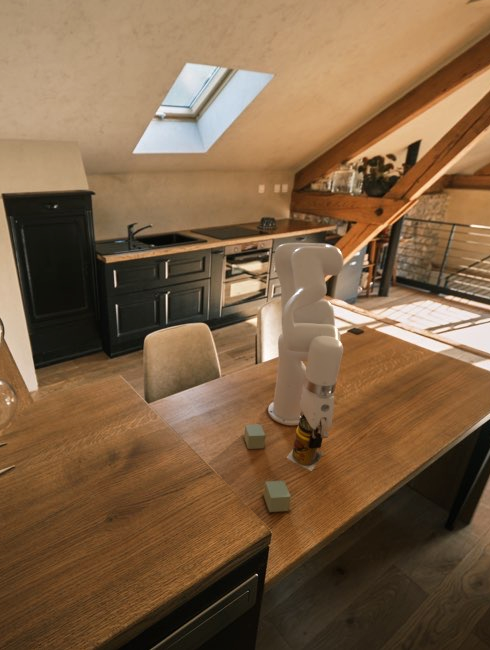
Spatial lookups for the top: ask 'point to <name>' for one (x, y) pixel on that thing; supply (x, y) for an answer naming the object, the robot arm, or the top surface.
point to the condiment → (304, 447)
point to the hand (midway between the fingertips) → (309, 437)
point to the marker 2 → (276, 496)
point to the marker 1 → (254, 436)
